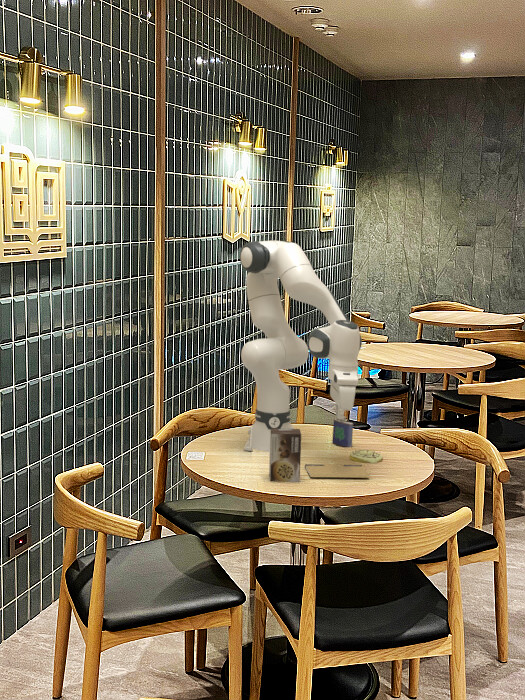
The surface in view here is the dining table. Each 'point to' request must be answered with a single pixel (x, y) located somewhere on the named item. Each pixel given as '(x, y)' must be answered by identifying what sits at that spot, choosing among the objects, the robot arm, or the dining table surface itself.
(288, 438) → the coffee box
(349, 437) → the flask
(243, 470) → the dining table surface
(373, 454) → the decorated donut
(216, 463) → the dining table surface
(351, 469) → the flap
